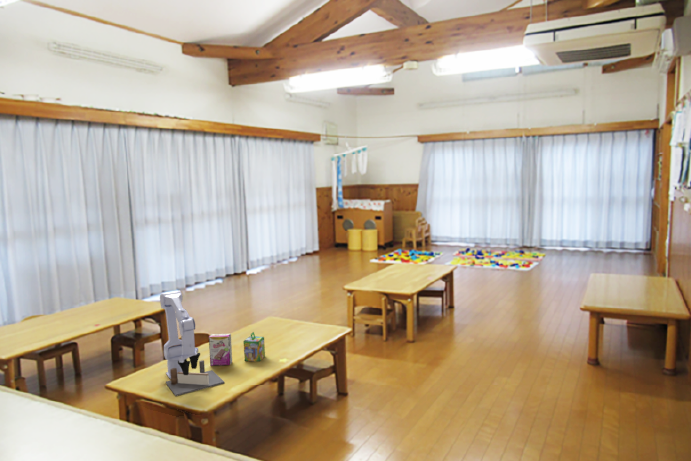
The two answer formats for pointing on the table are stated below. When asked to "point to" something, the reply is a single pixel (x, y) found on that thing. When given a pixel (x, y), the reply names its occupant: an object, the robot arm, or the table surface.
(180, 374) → the gate
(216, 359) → the candy bar box
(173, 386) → the mat
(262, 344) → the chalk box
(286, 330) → the table surface
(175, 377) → the gate posts
